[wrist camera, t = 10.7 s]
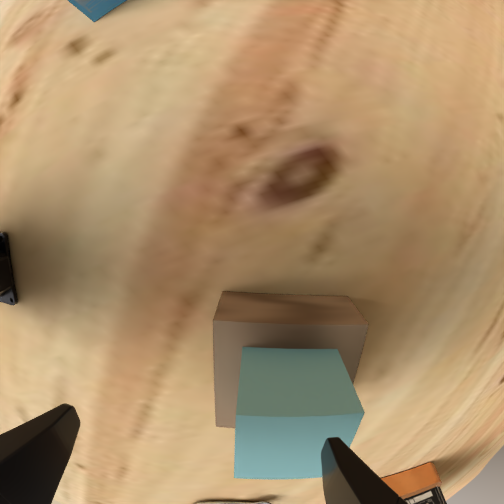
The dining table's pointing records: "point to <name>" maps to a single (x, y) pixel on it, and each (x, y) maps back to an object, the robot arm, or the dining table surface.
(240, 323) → the walnut block
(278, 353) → the teal block
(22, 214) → the dining table surface
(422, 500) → the whiskey bottle
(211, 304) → the dining table surface
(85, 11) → the perfume bottle
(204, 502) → the salad plate
